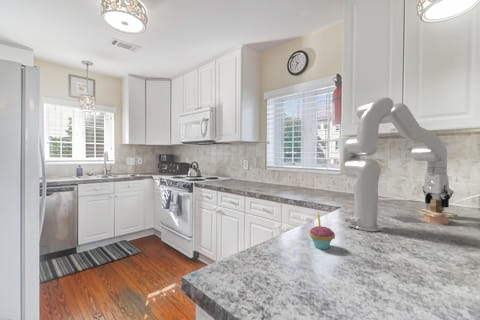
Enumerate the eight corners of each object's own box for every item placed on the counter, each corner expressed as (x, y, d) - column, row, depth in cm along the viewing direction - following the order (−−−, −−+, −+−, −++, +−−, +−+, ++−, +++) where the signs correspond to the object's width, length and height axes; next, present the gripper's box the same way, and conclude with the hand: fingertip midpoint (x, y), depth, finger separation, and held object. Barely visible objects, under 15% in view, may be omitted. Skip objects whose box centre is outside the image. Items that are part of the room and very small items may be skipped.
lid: (434, 216, 108) (434, 201, 108) (416, 211, 119) (416, 197, 119) (457, 217, 108) (457, 202, 108) (438, 211, 119) (438, 198, 119)
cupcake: (304, 244, 83) (304, 211, 83) (322, 241, 86) (322, 209, 86) (321, 253, 75) (321, 217, 75) (340, 249, 78) (340, 214, 78)
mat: (404, 223, 111) (404, 222, 111) (388, 217, 123) (388, 216, 123) (428, 223, 111) (428, 222, 111) (411, 217, 123) (411, 216, 123)
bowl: (434, 224, 109) (434, 216, 109) (420, 219, 118) (420, 211, 118) (453, 224, 109) (453, 216, 109) (437, 219, 118) (437, 212, 118)
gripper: (416, 170, 122) (415, 201, 122) (444, 172, 105) (443, 209, 105) (430, 170, 122) (429, 202, 122) (460, 172, 105) (460, 209, 105)
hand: (436, 205), depth 114 cm, fingers open, 9 cm apart
